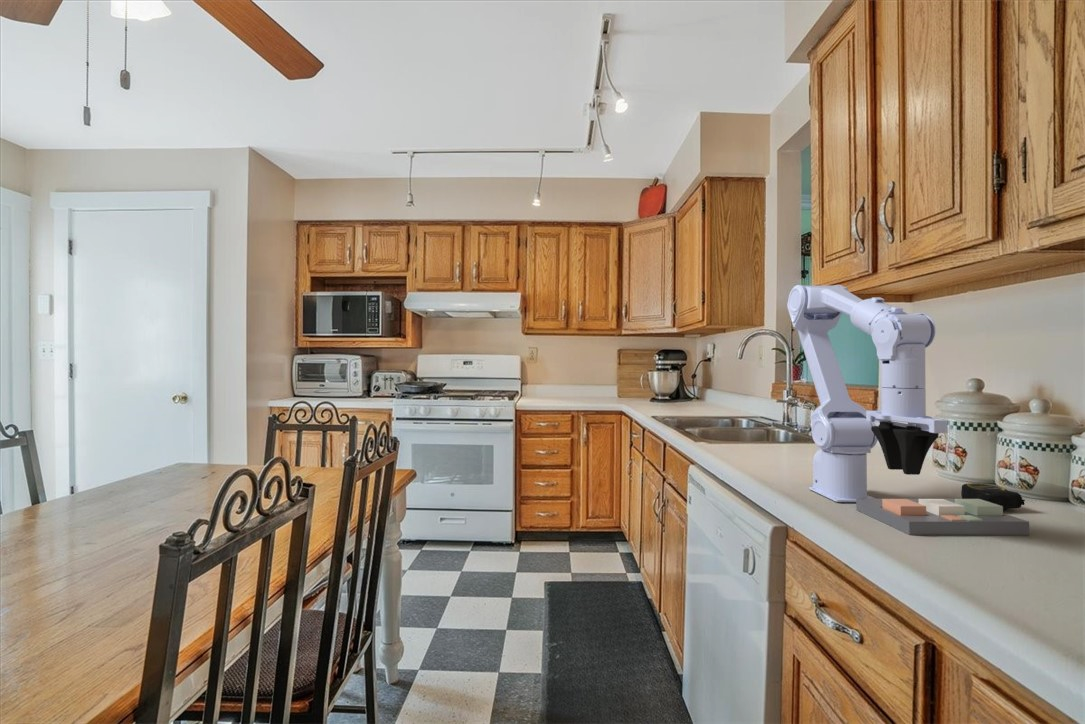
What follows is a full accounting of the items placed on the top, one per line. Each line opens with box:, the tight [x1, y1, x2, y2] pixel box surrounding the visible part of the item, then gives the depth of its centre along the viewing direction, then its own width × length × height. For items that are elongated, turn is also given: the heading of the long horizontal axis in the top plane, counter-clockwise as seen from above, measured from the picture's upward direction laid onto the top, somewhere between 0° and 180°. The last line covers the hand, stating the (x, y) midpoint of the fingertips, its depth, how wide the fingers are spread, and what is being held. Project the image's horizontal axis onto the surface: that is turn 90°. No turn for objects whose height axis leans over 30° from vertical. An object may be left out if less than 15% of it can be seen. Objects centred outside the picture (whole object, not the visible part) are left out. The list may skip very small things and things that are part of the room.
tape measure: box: [960, 482, 1026, 510], centre depth 84 cm, size 7×7×4 cm
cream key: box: [918, 498, 965, 516], centre depth 75 cm, size 4×4×2 cm
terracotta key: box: [881, 498, 926, 516], centre depth 75 cm, size 4×4×2 cm
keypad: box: [855, 498, 1030, 536], centre depth 76 cm, size 12×18×2 cm, turn 89°
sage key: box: [954, 498, 1004, 516], centre depth 75 cm, size 4×4×2 cm
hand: (903, 471), depth 75 cm, fingers open, 3 cm apart
